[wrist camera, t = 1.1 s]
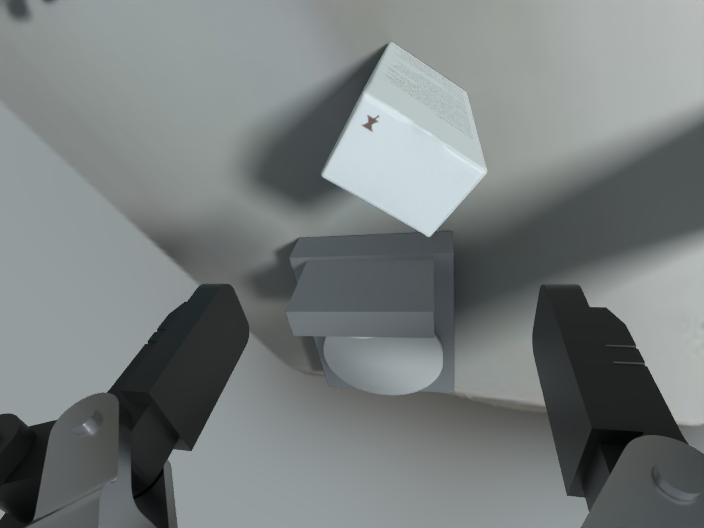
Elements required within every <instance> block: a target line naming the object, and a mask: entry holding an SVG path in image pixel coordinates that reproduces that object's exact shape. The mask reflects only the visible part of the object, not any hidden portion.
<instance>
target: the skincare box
mask: <svg viewBox="0 0 704 528" xmlns="http://www.w3.org/2000/svg"><path fill="white" fill-rule="evenodd" d="M486 174H487V168H486V164H485V161H484V157H483V153H482V150H481V146H480V142H479V138H478V134H477V130H476V126H475V123H474V119H473V115H472V111H471V107H470V103H469V99H468V95H467V93H466V92H465V91H464V90H462V89H461V88H459V87H458V86H456V85H455V84H453V83H452V82H451V81H449V80H448V79H446V78H445V77H443V76H442V75H440V74H439V73H437V72H436V71H434V70H433V69H431V68H430V67H428V66H427V65H425V64H424V63H422V62H421V61H419V60H418V59H416V58H415V57H413V56H412V55H410V54H409V53H408V52H406V51H405V50H403V49H402V48H400V47H399V46H397V45H396V44H394V43H393V42H389V44H388V45H387V47H386V49H385V51H384V52H383V54H382V56H381V58H380V60H379V61H378V63H377V65H376V67H375V69H374V70H373V72H372V74H371V76H370V78H369V80H368V82H367V84H366V85H365V87H364V89H363V91H362V93H361V95H360V97H359V99H358V101H357V103H356V105H355V107H354V109H353V111H352V113H351V115H350V117H349V119H348V121H347V123H346V125H345V127H344V128H343V130H342V132H341V134H340V136H339V138H338V140H337V142H336V144H335V146H334V148H333V150H332V152H331V154H330V156H329V158H328V160H327V162H326V164H325V166H324V168H323V170H322V172H321V175H322V177H323V178H325V179H327V180H328V181H330V182H332V183H334V184H335V185H337V186H339V187H341V188H342V189H344V190H346V191H348V192H349V193H351V194H353V195H355V196H356V197H358V198H360V199H362V200H363V201H365V202H367V203H369V204H371V205H372V206H374V207H376V208H378V209H380V210H381V211H383V212H385V213H387V214H389V215H390V216H392V217H394V218H396V219H398V220H399V221H401V222H403V223H405V224H406V225H408V226H410V227H412V228H413V229H415V230H417V231H419V232H420V233H422V234H424V235H425V236H427V237H430V236H431V235H432V234H433V233H434V232H435V231H436V230H437V229H438V227H439V226H440V225H441V224H442V223H443V222H444V221H445V220H446V219H447V218H448V216H449V215H450V214H451V213H452V212H453V211H454V210H455V209H456V207H457V206H458V205H459V204H460V203H461V202H462V201H463V200H464V199H465V198H466V196H467V195H468V194H469V193H470V192H471V191H472V190H473V189H474V187H475V186H476V185H477V184H478V183H479V182H480V181H481V180H482V178H483V177H484V176H485V175H486Z"/></svg>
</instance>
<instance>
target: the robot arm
mask: <svg viewBox="0 0 704 528" xmlns="http://www.w3.org/2000/svg"><path fill="white" fill-rule="evenodd" d="M248 338H249V325H248V321H247V319H246V317H245V314H244V312H243V310H242V307H241V305H240V302H239V300H238V298H237V295H236V293H235V291H234V289H233V287H232V286H231V285H229V284H202V285H200V286H199V287H198V288H197V289H196V291H195V292H194V293H193V295H192V296H191V297H190V299H189V300H188V301H187V302H184V303H183V304H182V305H180V306H179V307H178V308H176V309H175V310H174V311H173V312H171V313H170V314H169V315H168V316H167V317H166V319H165V320H164V321H163V322H162V324H161V325H160V326H159V328H158V329H157V332H155V333H154V334H153V335H152V336H151V338H150V339H149V340H148V344H145V345H144V347H143V348H142V349H141V350H140V352H139V353H138V354H137V355H136V357H135V358H134V359H133V360H132V362H131V363H130V364H129V366H128V367H127V368H126V369H125V371H124V372H123V373H122V375H121V376H120V377H119V378H118V380H117V381H116V382H115V383H114V385H113V386H112V387H111V389H110V390H109V391H108V392H107V393H97V394H93V395H91V396H88V397H86V398H84V399H82V400H80V401H78V402H77V403H75V404H74V405H73V406H71V407H70V408H69V409H67V410H66V411H65V412H64V413H63V414H62V415H61V416H60V418H59V419H58V420H55V421H50V422H46V423H42V424H38V425H33V426H29V427H28V426H27V425H26V424H25V423H24V422H23V421H21V420H20V419H19V418H18V417H17V416H16V415H13V414H1V415H0V509H1V510H3V511H4V512H6V513H5V514H4V516H3V517H2V518H1V520H0V528H178V527H177V517H176V508H175V499H174V489H173V479H172V470H171V464H170V462H169V461H168V457H169V455H170V454H171V452H172V450H173V449H178V450H186V451H192V449H193V447H194V445H195V443H196V441H197V439H198V437H199V435H200V434H201V432H202V430H203V428H204V426H205V424H206V422H207V420H208V418H209V416H210V414H211V412H212V410H213V408H214V406H215V405H216V403H217V401H218V399H219V397H220V395H221V393H222V391H223V389H224V387H225V385H226V383H227V381H228V379H229V377H230V375H231V373H232V371H233V370H234V368H235V366H236V364H237V362H238V360H239V358H240V356H241V354H242V352H243V350H244V348H245V346H246V344H247V342H248ZM532 343H533V353H534V358H535V363H536V367H537V371H538V375H539V379H540V384H541V388H542V392H543V396H544V400H545V405H546V409H547V413H548V417H549V421H550V425H551V430H552V434H553V438H554V442H555V447H556V451H557V454H558V459H559V463H560V467H561V472H562V476H563V480H564V484H565V488H566V493H567V496H576V497H585V498H586V501H587V505H588V509H589V514H588V515H587V517H586V519H585V521H584V523H583V524H582V526H581V528H704V454H703V453H702V452H700V451H699V450H697V449H696V448H694V447H692V446H690V445H689V444H688V443H687V442H686V440H685V439H684V437H683V435H682V433H681V431H680V430H679V428H678V426H677V424H676V422H675V420H674V418H673V416H672V414H671V412H670V410H669V408H668V406H667V404H666V402H665V400H664V398H663V397H662V395H661V393H660V391H659V389H658V387H657V385H656V383H655V381H654V379H653V377H652V375H651V373H650V371H649V369H648V367H647V366H645V364H644V363H645V362H644V360H643V358H642V356H641V354H640V352H639V350H638V349H636V344H635V342H634V340H633V338H632V336H631V334H630V332H629V331H628V329H627V327H626V325H625V324H624V323H623V322H622V321H621V320H620V319H618V318H617V317H616V316H615V315H614V314H613V313H612V312H610V311H609V310H608V309H607V308H600V307H589V305H588V302H587V300H586V298H585V296H584V293H583V291H582V289H581V287H580V286H579V285H542V286H541V288H540V291H539V297H538V303H537V309H536V315H535V321H534V327H533V335H532Z"/></svg>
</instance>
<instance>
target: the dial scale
mask: <svg viewBox="0 0 704 528" xmlns="http://www.w3.org/2000/svg"><path fill="white" fill-rule="evenodd" d="M289 259H290V262H291V266H292V269H293V272H294V275H295V279H296V282H297V286H296V288H295V290H294V293H293V295H292V297H291V300H290V302H289V304H288V307H287V309H286V311H285V312H286V315H287V318H288V321H289V324H290V327H291V329H292V332H293V335H294V336H313V337H314V341H315V344H316V347H317V350H318V354H319V357H320V360H321V364H322V367H323V370H324V373H325V377H326V380H327V383H328V386H329V387H343V388H358V389H361V390H364V391H367V392H370V393H375V394H381V395H403V394H409V393H413V392H416V391H428V392H450V393H454V248H453V234H452V231H444V232H434V233H433V234H432V235H431V236H430V237H427V236H425V235H424V234H422V233H398V234H376V235H353V236H330V237H307V238H299V239H298V241H297V243H296V245H295V247H294V249H293V251H292V253H291V255H290V257H289Z"/></svg>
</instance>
